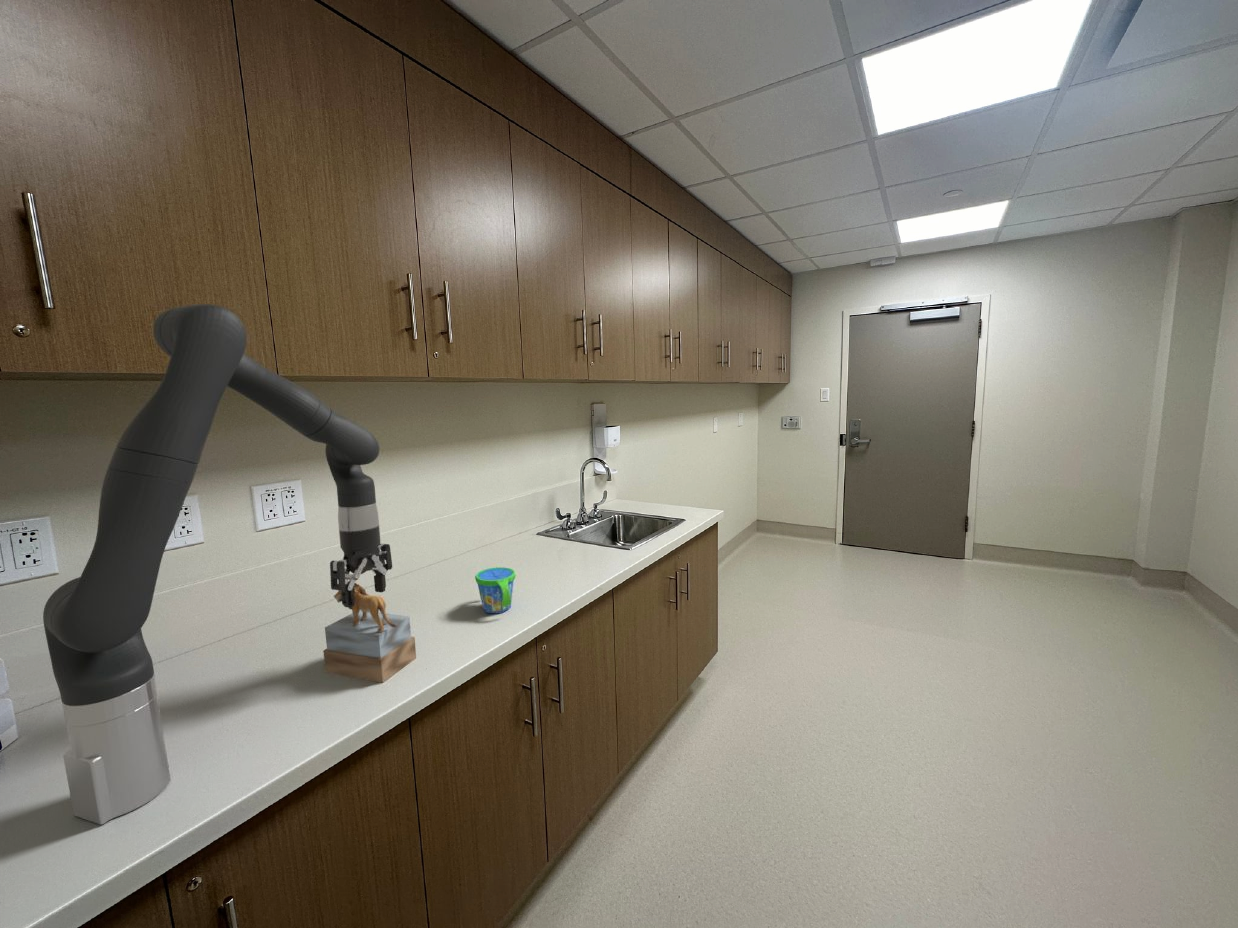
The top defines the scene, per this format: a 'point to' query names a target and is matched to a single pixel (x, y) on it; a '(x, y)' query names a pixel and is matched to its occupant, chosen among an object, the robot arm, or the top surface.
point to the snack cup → (496, 588)
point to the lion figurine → (367, 606)
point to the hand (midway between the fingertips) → (365, 598)
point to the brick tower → (368, 647)
